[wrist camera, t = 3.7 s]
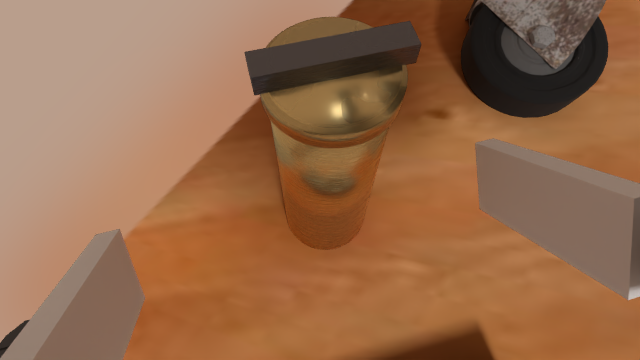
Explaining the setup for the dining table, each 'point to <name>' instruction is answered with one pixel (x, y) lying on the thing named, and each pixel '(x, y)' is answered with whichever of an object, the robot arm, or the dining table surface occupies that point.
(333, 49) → the amber translucent cylinder
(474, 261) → the dining table surface
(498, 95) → the caster wheel
